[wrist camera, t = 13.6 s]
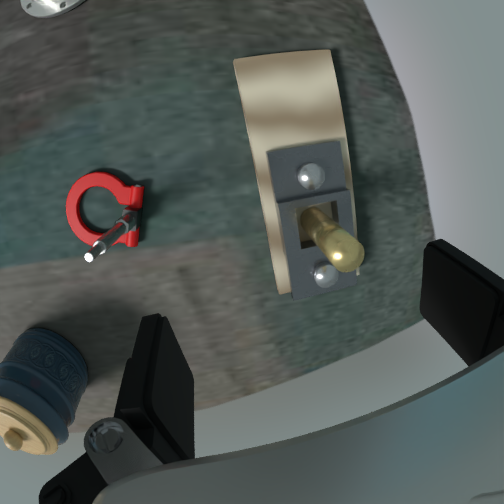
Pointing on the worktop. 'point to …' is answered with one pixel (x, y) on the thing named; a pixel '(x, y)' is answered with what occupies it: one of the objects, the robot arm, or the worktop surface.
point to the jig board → (290, 126)
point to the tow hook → (123, 227)
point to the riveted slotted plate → (305, 194)
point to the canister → (40, 391)
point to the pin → (332, 240)
